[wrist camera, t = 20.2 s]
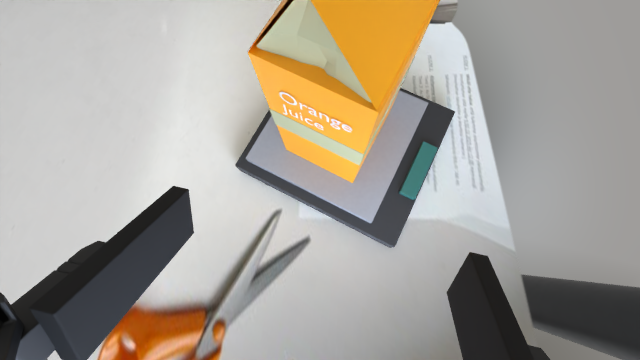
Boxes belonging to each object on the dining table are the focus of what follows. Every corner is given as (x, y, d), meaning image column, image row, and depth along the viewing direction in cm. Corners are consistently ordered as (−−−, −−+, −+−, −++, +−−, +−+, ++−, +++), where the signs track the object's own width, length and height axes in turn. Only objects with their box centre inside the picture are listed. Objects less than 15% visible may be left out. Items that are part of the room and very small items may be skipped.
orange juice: (391, 111, 30) (511, -153, 10) (353, 184, 28) (413, 30, 9) (324, 80, 31) (321, -210, 11) (284, 149, 29) (197, -59, 10)
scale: (447, 119, 33) (459, 106, 30) (390, 247, 29) (396, 247, 26) (308, 58, 35) (306, 41, 32) (240, 170, 32) (231, 162, 29)
